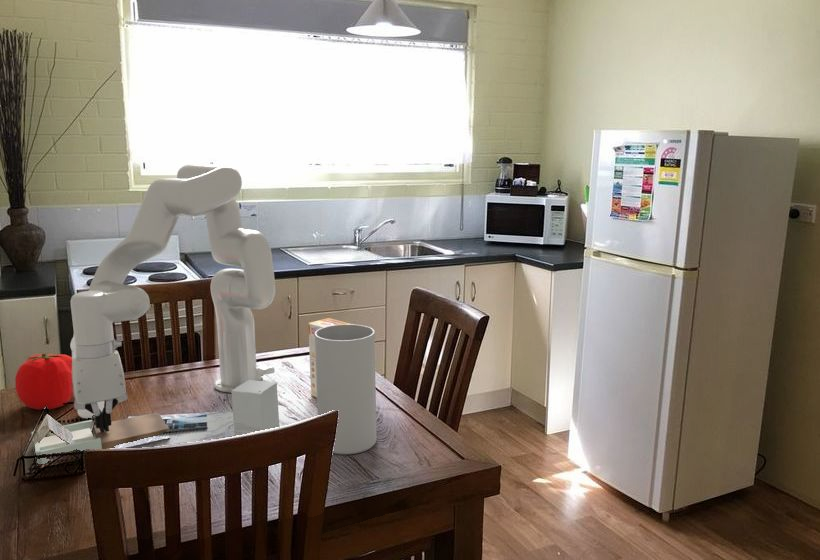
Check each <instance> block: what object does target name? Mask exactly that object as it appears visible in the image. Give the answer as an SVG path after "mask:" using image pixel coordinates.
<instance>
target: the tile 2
mask: <svg viewBox="0 0 820 560" xmlns="http://www.w3.org/2000/svg"><path fill="white" fill-rule="evenodd" d="M71 433H72V435H73V438H72V441H75V442H77V443H78V442H82V441H87V440H92V439H94V438H93V434H92V432H91V429H90V428H87V429H82V430H77V431H72V432H71Z"/></svg>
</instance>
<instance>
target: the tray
mask: <svg viewBox="0 0 820 560" xmlns="http://www.w3.org/2000/svg"><path fill="white" fill-rule="evenodd" d="M93 422H94V421H93V419H89V420H88V419H87V420H83V421H78V422H74V423H70V424H64V425H62V426H63V427H64V428H66V429H68V430H69V431H71V432H72V431H77V430H82V429H87V428H90V429H91V427H92V425H94V423H93ZM33 432H34V431H31V435H32V434H33ZM49 434H50V436H54V435H53V433H51V432H50V433H49ZM93 438H94V439H92V440H87V441H82V442H78V443H73V444H68V445H64V446H59V447H54V448H50V449H45V450H41V451H40V447H39V443H38V442H37V443H36V444H35V452H36V455H42V454H52V453H61V452H69V451H73V450H76V449H77V450H86V449H102V445H101V438H96V437H95V435H94V437H93ZM35 452H34V453H35ZM49 460H50V459H46V458H40V459H37V461H36V464H37V463H38V464H45V463H47V462H48V461H49Z"/></svg>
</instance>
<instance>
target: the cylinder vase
mask: <svg viewBox="0 0 820 560" xmlns="http://www.w3.org/2000/svg"><path fill="white" fill-rule="evenodd" d="M375 333H376V332H375V329H374V328H372V327H371V326H368V325H362V324H354V323H350V324H341V325H332V326H327V327H323V328H320V329H318V330H317V331H316V332H315V354H316V381H317V397H316V403H317V416H318V415H321V414H324V413H327V412H329V411H332V410H339V419H338V425H337V432H336V440H335V445H334V451H333V453H332V454H334V455H353V454H354V455H355V454H360V453H363V452H366V451H368V450H370V449H371V448H373V446H374V445H375V444H376V443H377V437H378V436H377V434H378V433H377V390H376V388H377V387H376V337H375V335H376V334H375Z"/></svg>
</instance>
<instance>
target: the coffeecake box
mask: <svg viewBox="0 0 820 560" xmlns="http://www.w3.org/2000/svg"><path fill="white" fill-rule="evenodd" d="M307 324H308V348H309V352H308V353H309V372H310V373H309V374H310V396H312V397H313V398H317V381H316V354H315V332H316V331H317V330H318V329H320V328H323V327H327V326H332V325H341V324H351V323H348V322H346V321H345V322H344V321H343V320H342V321H341V320H338V319H333V318H330V317H329V318H328V317H327V318H323V319H319V320H315V321H311V322H308V323H307Z"/></svg>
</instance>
